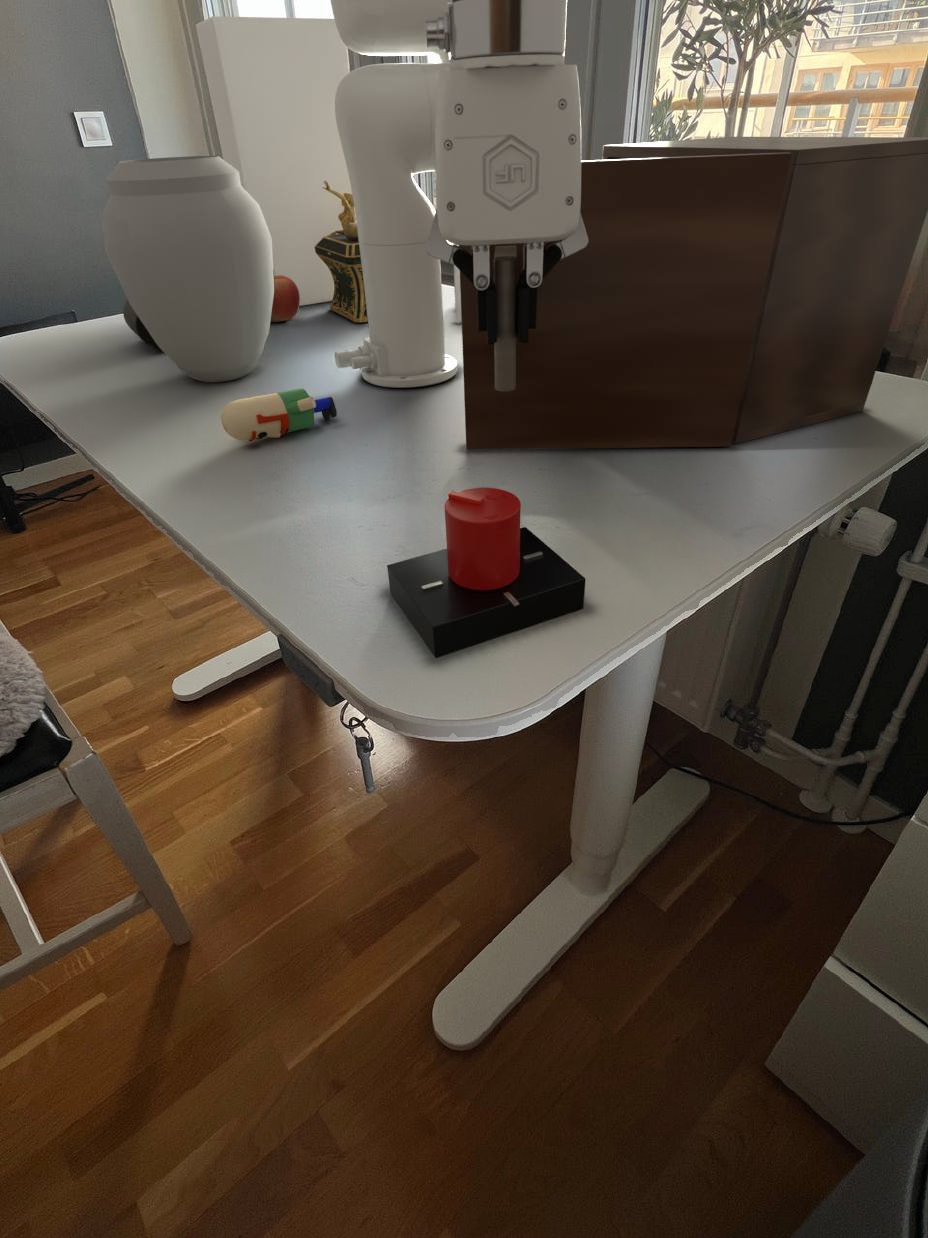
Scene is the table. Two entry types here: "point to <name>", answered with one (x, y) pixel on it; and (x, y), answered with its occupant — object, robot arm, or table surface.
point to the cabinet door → (632, 311)
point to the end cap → (138, 326)
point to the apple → (284, 299)
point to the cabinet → (823, 269)
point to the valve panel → (484, 597)
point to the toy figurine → (274, 414)
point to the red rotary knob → (483, 537)
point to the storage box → (282, 131)
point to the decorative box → (345, 263)
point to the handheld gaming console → (457, 294)
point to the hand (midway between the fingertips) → (506, 337)
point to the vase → (192, 261)
